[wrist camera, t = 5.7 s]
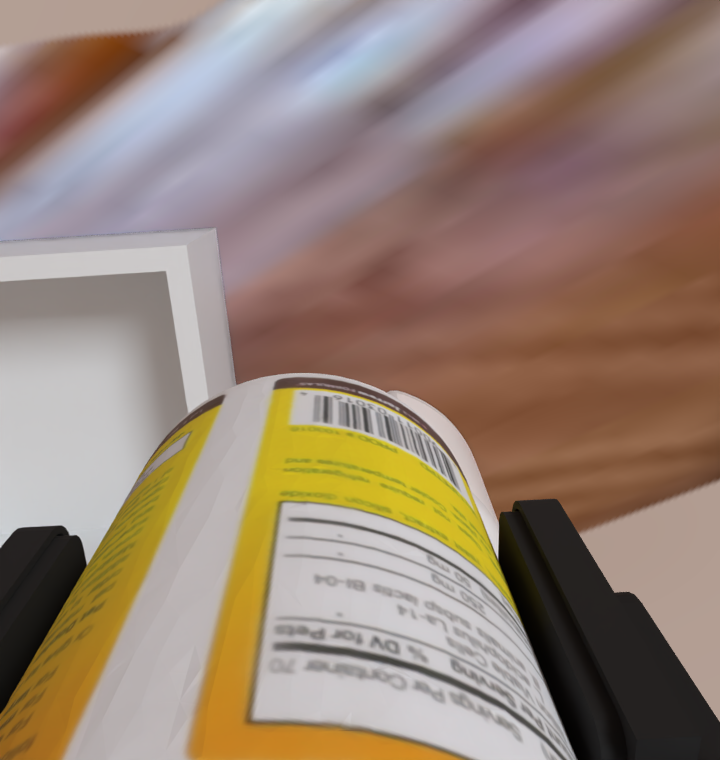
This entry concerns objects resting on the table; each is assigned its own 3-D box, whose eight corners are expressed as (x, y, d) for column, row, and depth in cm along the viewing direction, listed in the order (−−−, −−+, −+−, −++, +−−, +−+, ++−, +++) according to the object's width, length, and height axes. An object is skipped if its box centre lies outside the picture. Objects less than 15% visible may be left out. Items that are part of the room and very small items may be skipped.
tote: (215, 227, 27) (186, 245, 22) (254, 526, 32) (236, 593, 27) (-222, 255, 27) (-342, 278, 23) (-122, 547, 32) (-205, 618, 27)
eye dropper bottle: (449, 369, 29) (510, 514, 18) (480, 481, 31) (553, 678, 20) (351, 397, 29) (350, 556, 18) (387, 507, 31) (407, 714, 20)
